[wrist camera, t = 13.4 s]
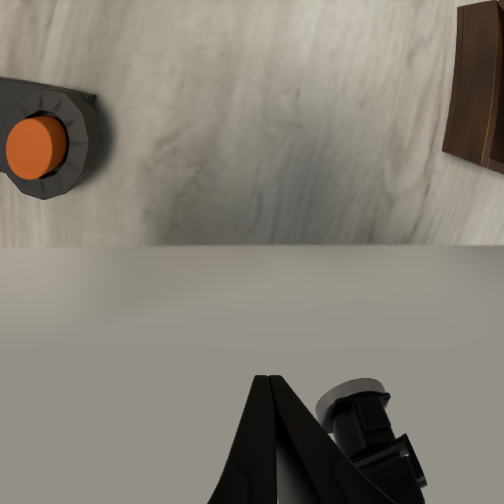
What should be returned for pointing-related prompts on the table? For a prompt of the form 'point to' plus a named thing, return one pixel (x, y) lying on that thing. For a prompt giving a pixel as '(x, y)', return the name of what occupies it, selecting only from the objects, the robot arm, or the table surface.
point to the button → (36, 146)
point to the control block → (72, 120)
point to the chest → (478, 87)
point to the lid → (501, 3)
